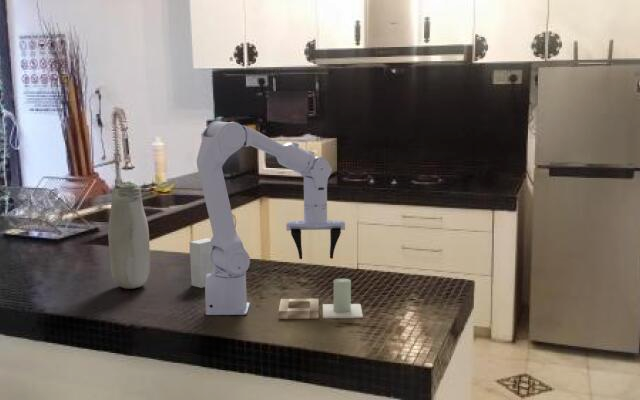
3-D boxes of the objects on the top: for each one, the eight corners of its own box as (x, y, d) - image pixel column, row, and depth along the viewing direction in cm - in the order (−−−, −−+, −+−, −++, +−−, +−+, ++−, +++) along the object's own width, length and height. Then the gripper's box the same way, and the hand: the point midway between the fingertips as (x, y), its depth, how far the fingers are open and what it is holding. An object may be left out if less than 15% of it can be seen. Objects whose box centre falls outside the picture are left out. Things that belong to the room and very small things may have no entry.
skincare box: (207, 280, 182) (206, 237, 180) (218, 283, 179) (217, 239, 177) (190, 285, 177) (188, 241, 175) (201, 288, 175) (199, 243, 173)
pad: (323, 318, 150) (323, 316, 150) (322, 305, 159) (322, 304, 159) (362, 317, 150) (362, 316, 150) (360, 305, 159) (360, 303, 159)
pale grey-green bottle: (156, 288, 175) (150, 183, 170) (116, 295, 169) (110, 186, 165) (145, 280, 183) (140, 179, 179) (107, 285, 178) (100, 181, 173)
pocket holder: (278, 318, 150) (278, 311, 150) (280, 306, 159) (280, 299, 159) (318, 318, 150) (318, 310, 150) (318, 305, 159) (318, 298, 159)
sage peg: (333, 312, 153) (333, 283, 152) (333, 307, 156) (333, 278, 155) (351, 312, 152) (351, 283, 151) (350, 307, 156) (350, 278, 155)
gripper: (285, 207, 161) (286, 262, 163) (345, 206, 161) (345, 261, 163) (286, 202, 168) (287, 255, 170) (344, 202, 168) (344, 254, 170)
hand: (316, 258), depth 167 cm, fingers open, 7 cm apart
